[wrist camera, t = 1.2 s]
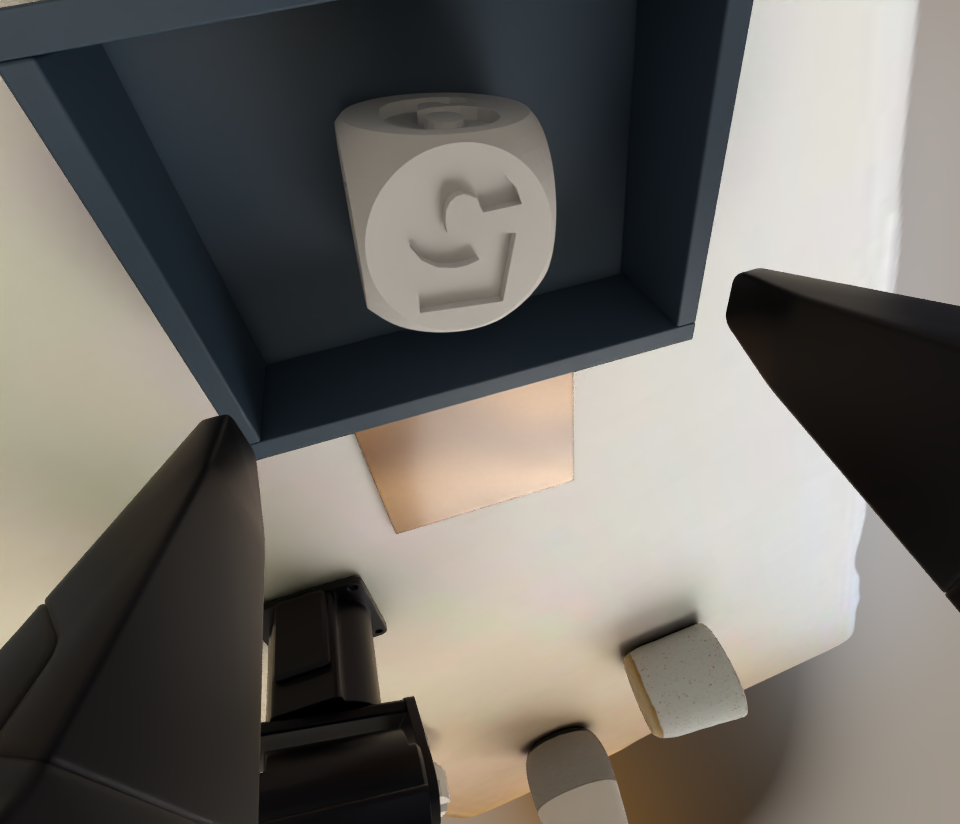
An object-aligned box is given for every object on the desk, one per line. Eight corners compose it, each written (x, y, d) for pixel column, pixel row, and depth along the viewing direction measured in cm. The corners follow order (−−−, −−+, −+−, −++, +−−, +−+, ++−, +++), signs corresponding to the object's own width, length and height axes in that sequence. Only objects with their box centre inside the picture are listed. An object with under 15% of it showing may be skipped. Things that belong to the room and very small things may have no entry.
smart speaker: (592, 739, 64) (650, 888, 53) (520, 764, 62) (565, 922, 52) (598, 712, 57) (665, 875, 47) (518, 739, 56) (569, 913, 46)
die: (357, 267, 18) (374, 346, 14) (328, 97, 14) (340, 144, 11) (499, 250, 19) (549, 320, 15) (501, 87, 15) (567, 127, 12)
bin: (630, 280, 22) (692, 339, 18) (255, 378, 20) (248, 463, 16) (660, -106, 14) (778, -127, 10) (51, -1, 12) (-41, 15, 9)
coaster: (571, 475, 29) (573, 480, 29) (395, 528, 28) (396, 534, 27) (569, 323, 22) (573, 328, 22) (336, 385, 21) (337, 391, 21)
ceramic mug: (614, 644, 46) (659, 739, 40) (700, 608, 46) (756, 699, 40) (623, 680, 53) (662, 765, 48) (697, 650, 53) (745, 731, 48)
